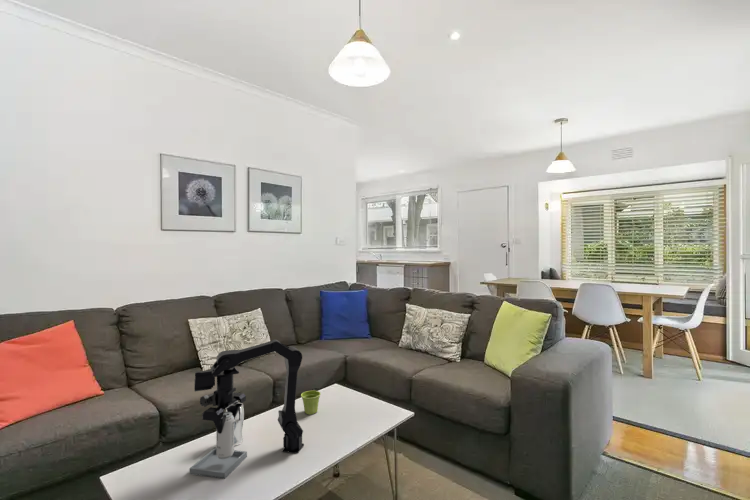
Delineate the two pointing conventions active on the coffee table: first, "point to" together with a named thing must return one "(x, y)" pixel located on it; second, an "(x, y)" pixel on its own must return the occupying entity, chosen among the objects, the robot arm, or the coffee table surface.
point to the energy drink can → (226, 438)
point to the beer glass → (238, 426)
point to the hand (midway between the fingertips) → (225, 429)
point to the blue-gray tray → (217, 464)
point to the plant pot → (310, 401)
